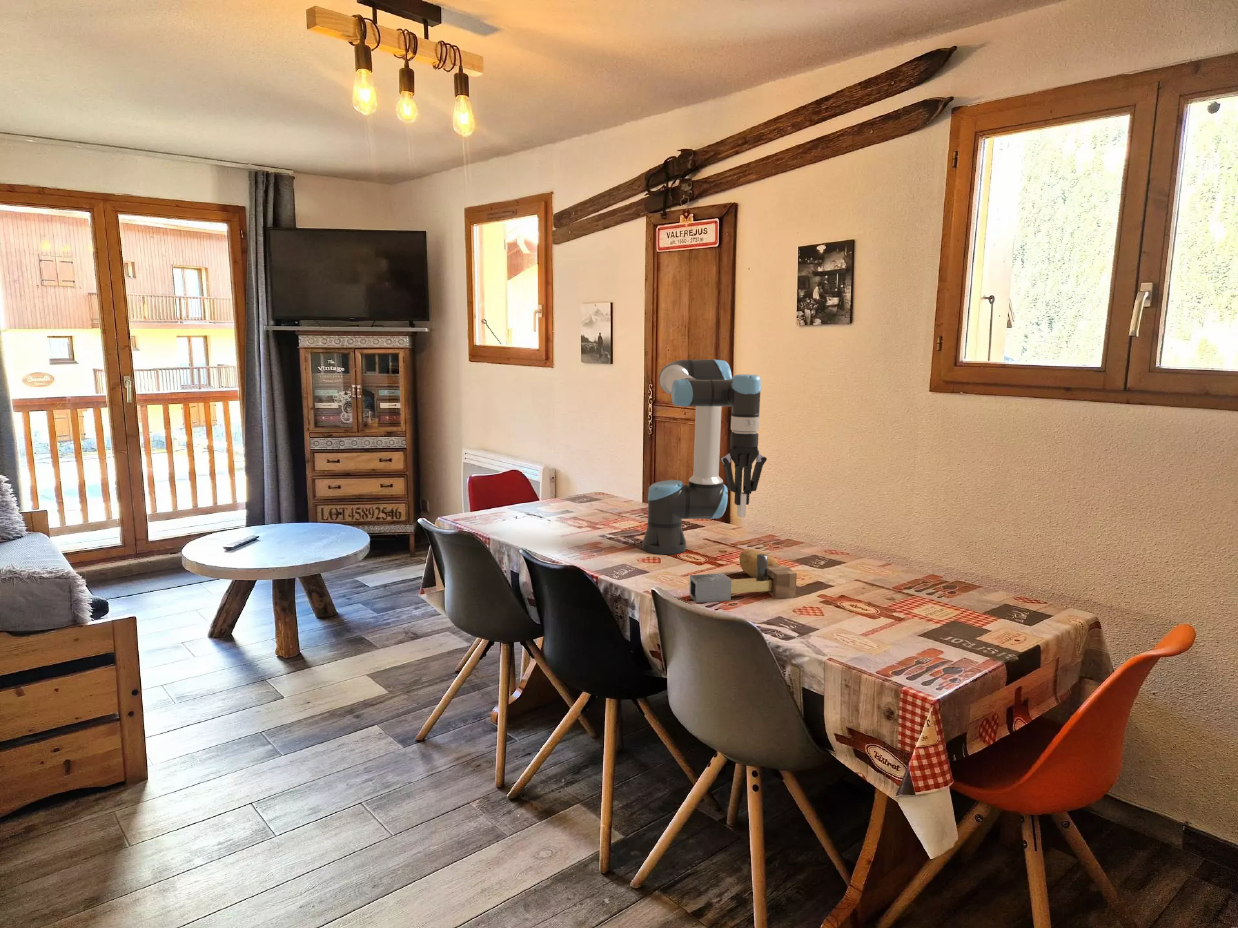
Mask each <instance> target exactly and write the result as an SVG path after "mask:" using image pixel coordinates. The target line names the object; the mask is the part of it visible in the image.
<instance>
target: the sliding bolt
mask: <svg viewBox="0 0 1238 928" xmlns="http://www.w3.org/2000/svg"><path fill="white" fill-rule="evenodd" d="M766 554H767V553H765V554H758V555H757V570H756V578H753V577H750V578H749V577H748V578H737V579H736V578H735V579H734V578H733V579H731V594H741V593H742V594H743V593H757V592H766V591H773V584H774V579H773V578H772V577H767V566H768V554H767V555H766Z"/></svg>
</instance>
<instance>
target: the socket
mask: <svg viewBox="0 0 1238 928" xmlns="http://www.w3.org/2000/svg"><path fill="white" fill-rule="evenodd" d="M797 575H798V574H797V572H796V571H794V570H793V569H791V568H789V567H788V566H786V565H785V564H784V565H779V564H778V566H767V577H772V578H773V579H774V584H773V591H765V592H766V593H767V594H769V595H770V596H771V597H773V598H774V599H776V600H777V599H791V598H792V599H793V598H796V596H797V577H798V576H797Z"/></svg>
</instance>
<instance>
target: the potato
mask: <svg viewBox="0 0 1238 928" xmlns="http://www.w3.org/2000/svg"><path fill="white" fill-rule="evenodd" d="M758 554H766V555H768V554H767V553H765V552H761V551H759V550H757V549H756V550H755V549H752V548H747V549H744V550H742V551H741V552H740V554H739V558H738V559H739V565H740V567H741V570H742V571H743V572H744V573H746V574H747V575H748V576H749V577H750V578H756V570H757V555H758ZM768 566H779V562H778V560H777V559H776V558H775V557H773V556H771V555H768Z"/></svg>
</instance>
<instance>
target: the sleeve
mask: <svg viewBox="0 0 1238 928" xmlns="http://www.w3.org/2000/svg"><path fill="white" fill-rule="evenodd" d="M731 580H732V578H730V577H729V576H727V575H726V574H725V572H724V573H707V574H706V573H705V574H704V573H703V574H690V575H689V595H688V596H689V597H690V598H691V600H693V602H695V603H696V604H699V603H715V602H728V601H729V602H730V601H731V600H732V599H731V598H732V593H731ZM731 602H732V601H731Z"/></svg>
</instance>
